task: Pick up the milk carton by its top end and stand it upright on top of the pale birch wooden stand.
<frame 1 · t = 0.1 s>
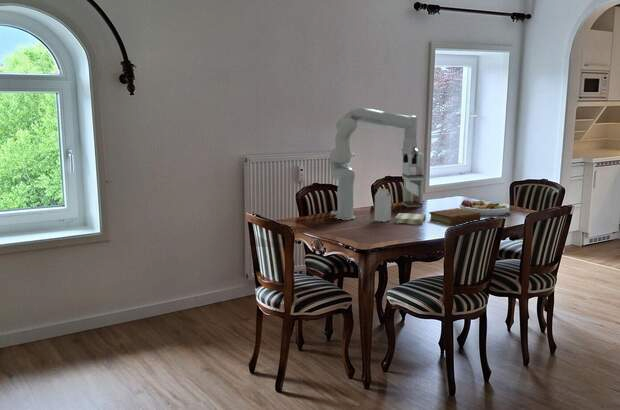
hand: (409, 163, 382), 31 cm above the table, tool pointing down, fingers open, 9 cm apart
display case: (412, 205, 412), on the table
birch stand: (410, 221, 360), on the table
milk carton: (382, 220, 363), on the table
diary: (454, 222, 359), on the table
bowl: (484, 213, 385), on the table
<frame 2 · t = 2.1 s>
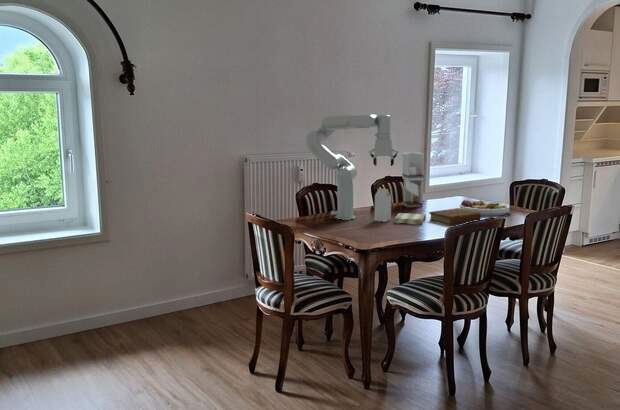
hand: (383, 165, 357), 33 cm above the table, tool pointing down, fingers open, 9 cm apart
nothing on the table moved.
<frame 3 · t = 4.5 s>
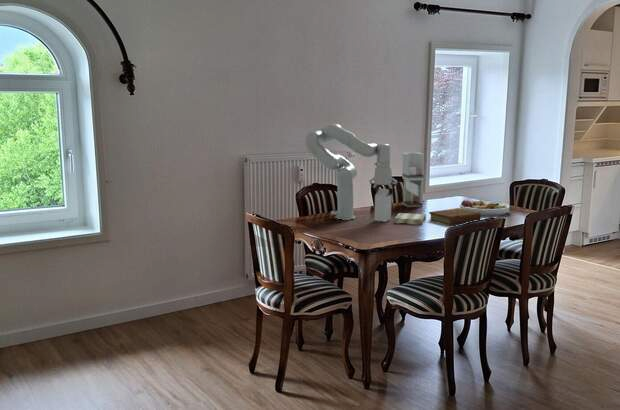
hand: (383, 194, 360), 16 cm above the table, tool pointing down, fingers closed on milk carton, 8 cm apart
milk carton: (382, 220, 363), on the table, touching gripper
everything else where it was.
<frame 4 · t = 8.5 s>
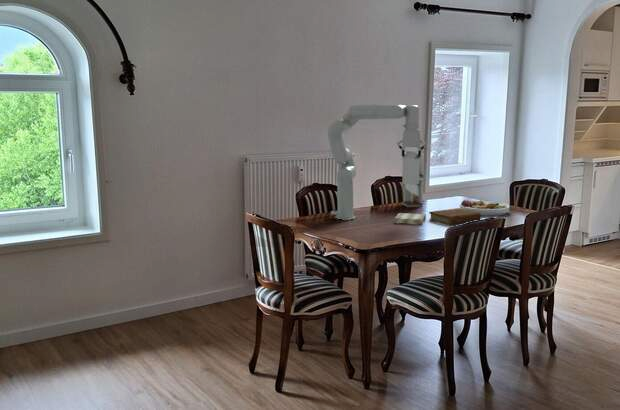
hand: (411, 157, 353), 38 cm above the table, tool pointing down, fingers closed on milk carton, 8 cm apart
milk carton: (410, 184, 356), point 22 cm above the table, touching gripper
everything else where it was.
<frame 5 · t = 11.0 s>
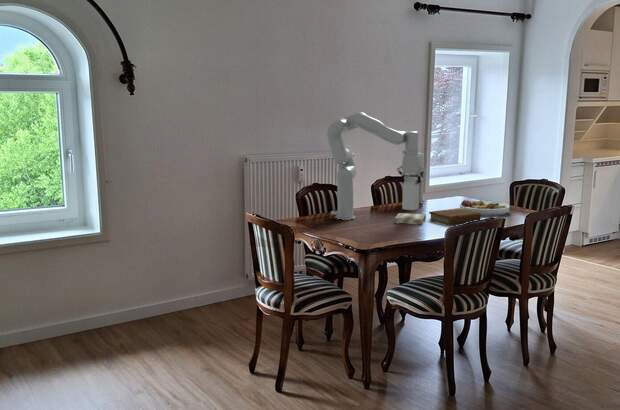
hand: (411, 182, 356), 23 cm above the table, tool pointing down, fingers closed on milk carton, 8 cm apart
milk carton: (410, 209, 359), point 7 cm above the table, touching gripper
everything else where it was.
when the fingers open (20 cm above the table, at t = 12.9 s): milk carton drops 1 cm, resting on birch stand.
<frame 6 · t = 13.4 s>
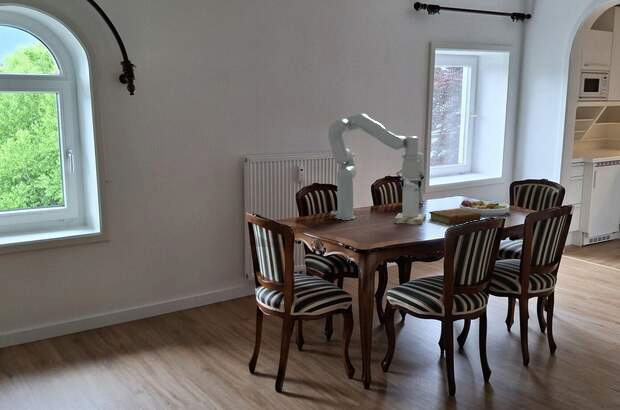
hand: (410, 187, 356), 20 cm above the table, tool pointing down, fingers open, 9 cm apart
milk carton: (410, 216, 359), point 3 cm above the table, touching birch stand
everything else where it was.
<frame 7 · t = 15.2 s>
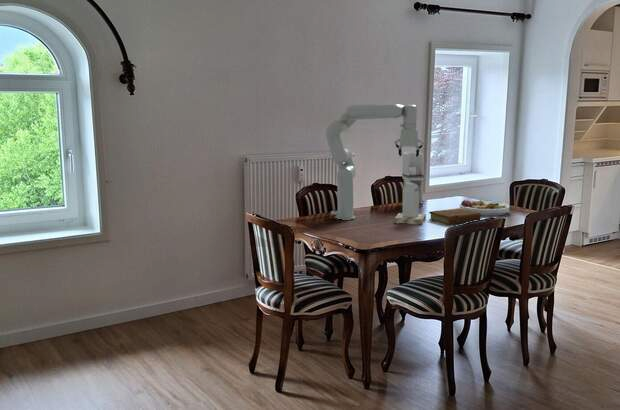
hand: (408, 156, 355), 38 cm above the table, tool pointing down, fingers open, 9 cm apart
nothing on the table moved.
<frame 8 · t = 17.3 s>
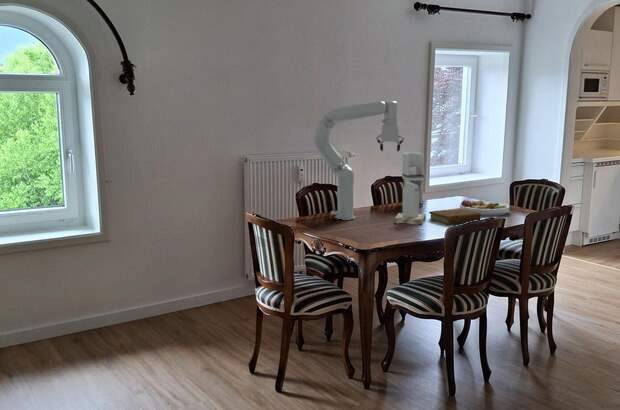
hand: (390, 151, 365), 40 cm above the table, tool pointing down, fingers open, 9 cm apart
nothing on the table moved.
at the end: milk carton inside the target area on the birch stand (0.2 cm from its centre), point 2.8 cm above the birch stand's base; milk carton tilted 0°; the gripper is holding nothing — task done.
